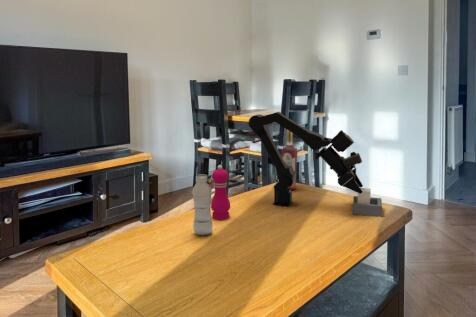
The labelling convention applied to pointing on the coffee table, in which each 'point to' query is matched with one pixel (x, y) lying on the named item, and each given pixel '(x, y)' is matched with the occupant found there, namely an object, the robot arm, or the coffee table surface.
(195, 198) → the plastic bottle
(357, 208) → the frame
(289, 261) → the coffee table surface
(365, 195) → the white rectangular block
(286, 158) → the liquor
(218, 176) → the pepper mill
